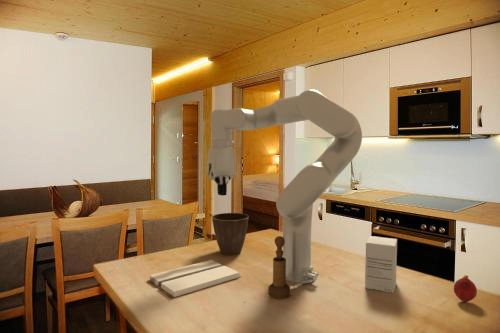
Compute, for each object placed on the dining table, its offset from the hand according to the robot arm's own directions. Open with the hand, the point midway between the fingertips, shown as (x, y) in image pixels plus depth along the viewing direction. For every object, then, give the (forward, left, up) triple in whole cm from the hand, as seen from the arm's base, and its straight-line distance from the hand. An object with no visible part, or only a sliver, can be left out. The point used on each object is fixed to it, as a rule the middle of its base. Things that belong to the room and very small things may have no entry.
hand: (222, 194), depth 131 cm
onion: (-68, -38, -27) cm, 83 cm away
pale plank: (-10, +15, -26) cm, 31 cm away
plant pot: (+10, -11, -27) cm, 31 cm away
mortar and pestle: (-30, 0, -27) cm, 41 cm away
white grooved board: (-6, +15, -27) cm, 31 cm away
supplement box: (-46, -30, -27) cm, 61 cm away
